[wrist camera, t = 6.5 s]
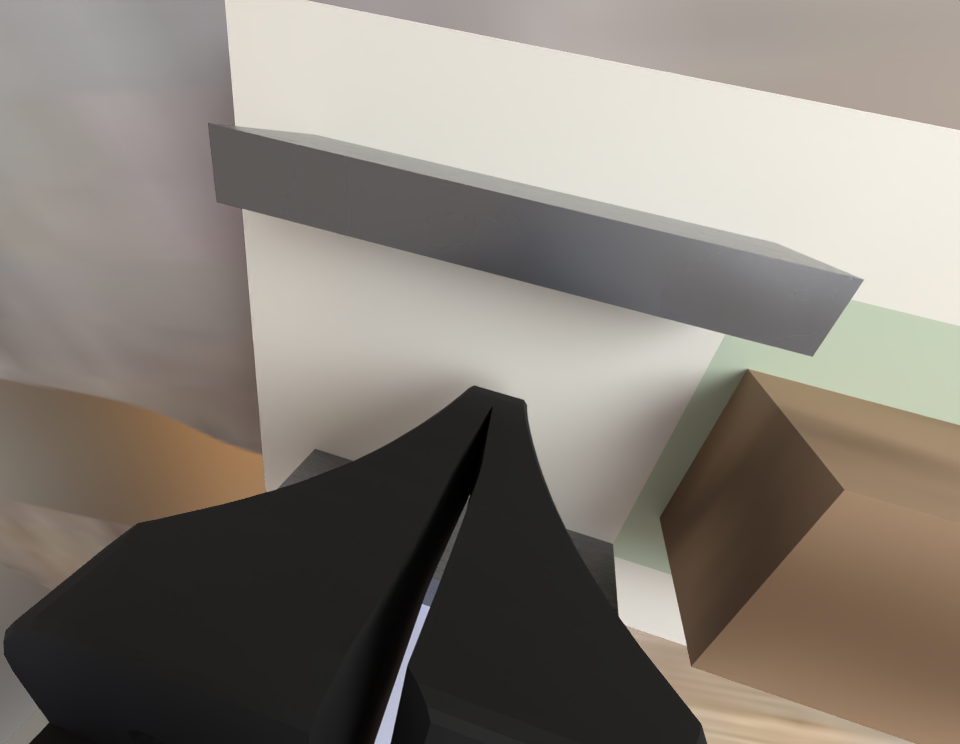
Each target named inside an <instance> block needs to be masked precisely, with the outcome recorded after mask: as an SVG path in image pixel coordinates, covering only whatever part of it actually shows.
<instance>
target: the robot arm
mask: <svg viewBox="0 0 960 744" xmlns="http://www.w3.org/2000/svg"><path fill="white" fill-rule="evenodd" d="M469 495H470V496H469ZM468 498H469V501H468V505H467V510H466V513H465V516H464V518H463V521H462V524H461V527H460V529H459V532H458V535H457V538H456V540H455V543H454V546H453V548H452V551H451V554H450V556H449V559H448V562H447V564H446V567H445V570H444V572H443V575H442V578H441V580H440V583H439V585H438V588H437V591H436V593H435V596H434V598H433V601H432V603H431V606H430V607H429V606H426V605H423V604H422V603H423V600H424V598H425V595H426V592H427V590H428V587H429V585H430V583H431V580H432V578H433V575H434V573H435V571H436V569H437V566H438V564H439V562H440V560H441V558H442V555H443V553H444V551H445V549H446V546H447V544H448V542H449V540H450V538H451V535H452V533H453V531H454V529H455V527H456V524H457V522H458V520H459V518H460V515H461V513H462V511H463V509H464V507H465V504H466V502H467V500H468ZM4 655H5V657H6V659H7V661H8V663H9V665H10V666H11V668H12V670H13V672H14V673H15V675H16V676H17V677H18V679H19V680H20V682H21V683H22V685H23V686H24V687H25V689H26V690H27V692H28V693H29V694H30V696H31V697H32V699H33V700H34V701H35V703H36V704H37V706H38V707H39V709H40V710H41V711H42V713H43V714H44V716H45V717H46V719H47V720H48V721H49V723H48V724H47V725H46V726H45V727H44V728H43V729H42V730H41V732H40V733H39V734H38V735H37V736H36V737H35V738H34V739H33V740H32V741H31V742H30V743H29V744H707V742H706V738H705V735H704V732H703V728H702V725H701V723H700V722H699V721H698V719H697V718H696V717H695V716H694V714H693V713H692V712H691V710H690V709H689V708H688V707H687V705H686V704H685V703H684V702H683V700H682V699H681V698H680V697H679V695H678V694H677V693H676V691H675V690H674V689H673V688H672V686H671V685H670V684H669V683H668V681H667V680H666V679H665V678H664V676H663V675H662V674H661V672H660V671H659V670H658V669H657V667H656V666H655V665H654V664H653V662H652V661H651V660H650V659H649V657H648V656H647V655H646V653H645V652H644V651H643V650H642V648H641V647H640V646H639V644H638V643H637V642H636V640H635V639H634V637H633V636H632V635H631V633H630V632H629V630H628V629H627V627H626V626H625V625H624V623H623V622H622V620H621V619H620V618H619V616H618V615H617V613H616V612H615V610H614V609H613V608H612V606H611V605H610V603H609V601H608V600H607V598H606V596H605V595H604V593H603V592H602V590H601V588H600V587H599V585H598V584H597V582H596V580H595V579H594V577H593V575H592V574H591V572H590V571H589V569H588V567H587V566H586V564H585V563H584V561H583V559H582V558H581V556H580V554H579V552H578V550H577V548H576V546H575V545H574V543H573V541H572V539H571V537H570V535H569V533H568V531H567V529H566V527H565V525H564V523H563V521H562V519H561V517H560V515H559V513H558V511H557V508H556V506H555V504H554V501H553V499H552V497H551V494H550V492H549V489H548V487H547V484H546V481H545V479H544V476H543V473H542V470H541V467H540V464H539V461H538V458H537V454H536V451H535V447H534V444H533V440H532V436H531V431H530V426H529V421H528V413H527V404H526V402H525V401H524V400H523V399H520V398H516V397H513V396H509V395H506V394H502V393H499V392H496V391H492V390H489V389H485V388H482V387H478V386H475V385H474V386H472V387H470V388H468V389H467V390H466V391H465V392H463V393H462V394H461V395H460V396H459V397H457V398H456V399H455V400H454V401H452V402H451V403H450V404H449V405H447V406H446V407H445V408H443V409H442V410H440V411H439V412H438V413H436V414H435V415H433V416H432V417H430V418H429V419H428V420H426V421H425V422H423V423H422V424H420V425H419V426H417V427H415V428H414V429H412V430H410V431H409V432H407V433H405V434H404V435H402V436H400V437H399V438H397V439H395V440H394V441H392V442H390V443H388V444H386V445H385V446H383V447H381V448H379V449H377V450H375V451H373V452H371V453H369V454H367V455H365V456H363V457H361V458H358V459H356V460H354V461H352V462H350V463H347V464H345V465H342V466H340V467H338V468H335V469H332V470H330V471H327V472H325V473H322V474H319V475H317V476H314V477H312V478H309V479H306V480H304V481H301V482H298V483H295V484H292V485H288V486H285V487H282V488H279V489H276V490H273V491H269V492H266V493H263V494H259V495H256V496H252V497H249V498H245V499H242V500H238V501H234V502H230V503H226V504H222V505H218V506H214V507H209V508H205V509H201V510H196V511H192V512H187V513H183V514H179V515H174V516H170V517H165V518H162V519H157V520H152V521H147V522H142V523H138V524H136V525H135V526H133V527H132V528H131V529H129V530H128V531H127V532H125V533H124V534H123V535H121V536H120V537H119V538H117V539H116V540H115V541H113V542H112V543H111V544H110V545H108V546H107V547H106V548H104V549H103V550H102V551H101V552H99V553H98V554H97V555H96V556H94V557H93V558H92V559H91V560H89V561H88V562H87V563H86V564H85V565H83V566H82V567H81V568H80V569H78V570H77V571H76V572H75V573H73V574H72V575H71V576H70V577H69V578H67V579H66V580H65V581H64V582H62V583H61V584H60V585H59V586H57V587H56V588H55V589H54V590H53V591H51V592H50V593H49V594H48V595H47V596H45V597H44V598H43V599H41V600H40V601H39V602H38V603H37V604H36V605H34V606H33V607H32V608H30V609H29V610H28V611H27V612H25V613H24V614H23V615H22V616H21V617H19V618H18V619H17V620H16V621H15V622H14V623H13V624H12V625H11V626H10V627H9V628H8V629H7V630H6V632H5V637H4Z"/></svg>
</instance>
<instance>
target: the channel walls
mask: <svg viewBox="0 0 960 744" xmlns="http://www.w3.org/2000/svg"><path fill="white" fill-rule="evenodd" d="M208 127H209V136H210V145H211V154H212V163H213V172H214V182H215V191H216V200H217V202H218V203H222V204H226V205H230V206H234V207H238V208H242V209H245V210H249V211H253V212H257V213H261V214H265V215H268V216H272V217H276V218H280V219H284V220H288V221H292V222H295V223H299V224H303V225H307V226H311V227H315V228H318V229H322V230H326V231H330V232H334V233H338V234H342V235H345V236H349V237H353V238H357V239H361V240H365V241H369V242H372V243H376V244H380V245H384V246H388V247H392V248H395V249H399V250H403V251H407V252H411V253H415V254H419V255H422V256H426V257H430V258H434V259H438V260H442V261H446V262H449V263H453V264H457V265H461V266H465V267H469V268H472V269H476V270H480V271H484V272H488V273H492V274H496V275H499V276H503V277H507V278H511V279H515V280H519V281H523V282H526V283H530V284H534V285H538V286H542V287H546V288H549V289H553V290H557V291H561V292H565V293H569V294H573V295H576V296H580V297H584V298H588V299H592V300H596V301H599V302H603V303H607V304H611V305H615V306H619V307H623V308H626V309H630V310H634V311H638V312H642V313H646V314H650V315H653V316H657V317H661V318H665V319H669V320H673V321H676V322H680V323H684V324H688V325H692V326H696V327H700V328H703V329H707V330H711V331H715V332H719V333H723V334H727V335H730V336H734V337H738V338H742V339H746V340H750V341H753V342H757V343H761V344H765V345H769V346H773V347H777V348H780V349H784V350H788V351H792V352H796V353H800V354H803V355H807V356H811V357H813V356H814V354H815V353H816V351H817V350H818V348H819V347H820V345H821V344H822V342H823V341H824V339H825V338H826V336H827V335H828V333H829V332H830V330H831V329H832V327H833V326H834V324H835V323H836V321H837V320H838V318H839V317H840V315H841V314H842V312H843V311H844V309H845V308H846V306H847V305H848V303H849V302H850V300H851V299H852V297H853V296H854V294H855V293H856V291H857V290H858V288H859V287H860V285H861V284H862V282H863V281H864V279H862V278H859V277H857V276H854V275H852V274H849V273H847V272H845V271H842V270H840V269H837V268H835V267H833V266H830V265H828V264H825V263H823V262H820V261H818V260H816V259H813V258H811V257H808V256H806V255H804V254H801V253H799V252H796V251H794V250H792V249H789V248H787V247H784V246H782V245H779V244H777V243H775V242H770V241H766V240H762V239H758V238H753V237H749V236H745V235H741V234H736V233H732V232H728V231H723V230H719V229H715V228H711V227H706V226H702V225H698V224H694V223H689V222H685V221H681V220H677V219H672V218H668V217H664V216H660V215H655V214H651V213H647V212H643V211H638V210H634V209H630V208H626V207H621V206H617V205H613V204H608V203H604V202H600V201H596V200H591V199H587V198H583V197H579V196H574V195H570V194H566V193H562V192H557V191H553V190H549V189H545V188H540V187H536V186H532V185H528V184H523V183H519V182H515V181H510V180H506V179H502V178H498V177H493V176H489V175H485V174H481V173H476V172H472V171H468V170H464V169H459V168H455V167H451V166H447V165H442V164H438V163H434V162H430V161H425V160H421V159H417V158H413V157H408V156H404V155H400V154H395V153H391V152H387V151H383V150H378V149H374V148H370V147H366V146H361V145H357V144H353V143H349V142H344V141H340V140H336V139H332V138H327V137H323V136H319V135H314V134H305V133H296V132H286V131H277V130H268V129H258V128H249V127H240V126H230V125H221V124H212V123H208ZM350 462H352V460H349V459H346V458H343V457H340V456H336V455H333V454H330V453H327V452H324V451H321V450H318V449H314V450H313V451H312V452H311V453H310V454H309V456H308V457H307V458H306V459H305V460H304V461H303V462H302V463H301V464H300V465H299V466H298V467H297V468H296V469H295V470H294V472H293V473H292V474H291V475H290V476H289V477H288V478H287V479H286V480H285V481H284V482H283V483H282V484H281V485H280V486H279V487H278V489H279V488H282V487H285V486H288V485H292V484H295V483H298V482H301V481H304V480H306V479H309V478H312V477H314V476H317V475H319V474H322V473H325V472H327V471H330V470H332V469H335V468H338V467H340V466H342V465H345V464H347V463H350ZM468 501H469V498H468V500H467V502H466V504H465V507H464V509H463V511H462V513H461V515H460V518H459V520H458V522H457V524H456V527H455V529H454V531H453V533H452V535H451V538H450V540H449V542H448V544H447V546H446V549H445V551H444V553H443V555H442V558H441V560H440V562H439V564H438V566H437V569H436V571H435V573H434V575H433V578H432V580H431V583H430V585H429V587H428V590H427V592H426V595H425V598H424V600H423V603H422V604H423V605H426V606H429V607H430V606H431V603H432V601H433V598H434V596H435V593H436V591H437V588H438V585H439V583H440V580H441V578H442V575H443V572H444V570H445V567H446V564H447V562H448V559H449V556H450V554H451V551H452V548H453V546H454V543H455V540H456V538H457V535H458V532H459V529H460V527H461V524H462V521H463V518H464V516H465V513H466V510H467V505H468ZM567 531H568V533H569V535H570V537H571V539H572V541H573V543H574V545H575V546H576V548H577V550H578V552H579V554H580V556H581V558H582V559H583V561H584V563H585V564H586V566H587V567H588V569H589V571H590V572H591V574H592V575H593V577H594V579H595V580H596V582H597V584H598V585H599V587H600V588H601V590H602V592H603V593H604V595H605V596H606V598H607V600H608V601H609V603H610V605H611V606H612V608H613V609H614V610H615V612H616V613H617V615H618V616H619V614H618V601H617V588H616V575H615V563H614V550H613V544H612V543H609V542H606V541H603V540H599V539H596V538H593V537H590V536H587V535H584V534H581V533H578V532H574V531H571V530H568V529H567Z"/></svg>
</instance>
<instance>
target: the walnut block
mask: <svg viewBox="0 0 960 744" xmlns="http://www.w3.org/2000/svg"><path fill="white" fill-rule="evenodd" d="M659 519H660V523H661V528H662V533H663V537H664V542H665V547H666V551H667V556H668V561H669V565H670V570H671V575H672V579H673V584H674V588H675V593H676V598H677V602H678V607H679V612H680V616H681V621H682V626H683V630H684V635H685V640H686V644H687V649H688V654H689V658H690V663H691V667H694V668H697V669H700V670H703V671H706V672H709V673H712V674H715V675H718V676H721V677H723V678H726V679H729V680H732V681H735V682H738V683H741V684H744V685H747V686H750V687H753V688H756V689H758V690H761V691H764V692H767V693H770V694H773V695H776V696H779V697H782V698H785V699H788V700H790V701H793V702H796V703H799V704H802V705H805V706H808V707H811V708H814V709H817V710H820V711H823V712H825V713H828V714H831V715H834V716H837V717H840V718H843V719H846V720H849V721H852V722H855V723H858V724H860V725H863V726H866V727H869V728H872V729H875V730H878V731H881V732H884V733H887V734H890V735H893V736H895V737H898V738H901V739H904V740H907V741H910V742H913V743H916V744H960V425H957V424H953V423H950V422H946V421H942V420H938V419H935V418H931V417H927V416H923V415H920V414H916V413H912V412H908V411H904V410H901V409H897V408H893V407H889V406H886V405H882V404H878V403H874V402H871V401H867V400H863V399H859V398H856V397H852V396H848V395H844V394H841V393H837V392H833V391H829V390H826V389H822V388H818V387H814V386H811V385H807V384H803V383H799V382H796V381H792V380H788V379H784V378H781V377H777V376H773V375H769V374H766V373H762V372H758V371H754V370H751V369H747V371H746V373H745V374H744V376H743V378H742V379H741V381H740V383H739V384H738V386H737V388H736V389H735V391H734V393H733V394H732V396H731V398H730V400H729V401H728V403H727V405H726V406H725V408H724V410H723V411H722V413H721V415H720V416H719V418H718V420H717V422H716V423H715V425H714V427H713V428H712V430H711V432H710V433H709V435H708V437H707V438H706V440H705V442H704V443H703V445H702V447H701V449H700V450H699V452H698V454H697V455H696V457H695V459H694V460H693V462H692V464H691V465H690V467H689V469H688V471H687V472H686V474H685V476H684V477H683V479H682V481H681V482H680V484H679V486H678V487H677V489H676V491H675V492H674V494H673V496H672V498H671V499H670V501H669V503H668V504H667V506H666V508H665V509H664V511H663V513H662V514H661V516H660V518H659Z"/></svg>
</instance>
